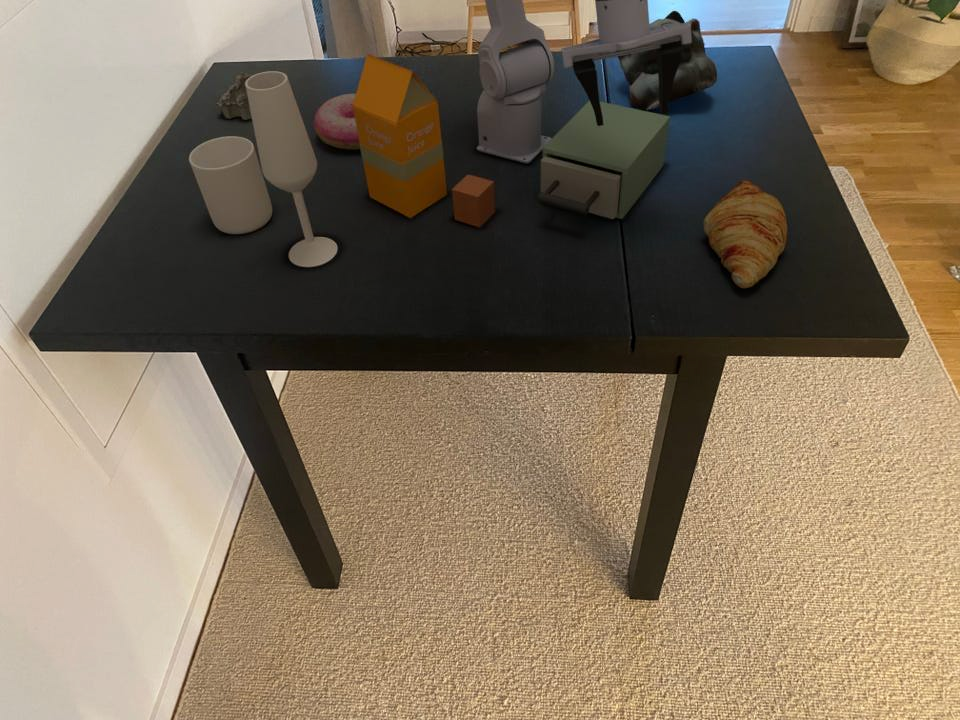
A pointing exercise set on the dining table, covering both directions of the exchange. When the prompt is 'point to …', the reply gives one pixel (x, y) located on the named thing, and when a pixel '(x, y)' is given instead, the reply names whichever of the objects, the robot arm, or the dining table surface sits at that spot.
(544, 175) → the cream drawer
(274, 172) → the champagne flute
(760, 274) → the croissant
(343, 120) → the donut
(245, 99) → the grey rough lump
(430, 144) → the orange juice
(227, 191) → the mug
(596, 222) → the dining table surface
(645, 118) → the green drawer box
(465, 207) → the rust orange cube
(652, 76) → the lucky cat figurine
